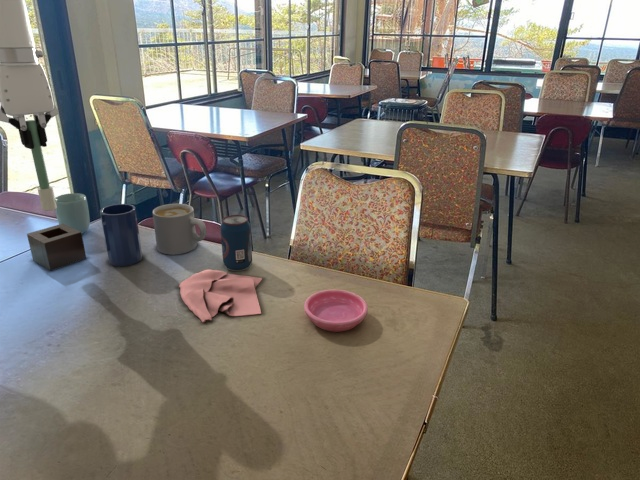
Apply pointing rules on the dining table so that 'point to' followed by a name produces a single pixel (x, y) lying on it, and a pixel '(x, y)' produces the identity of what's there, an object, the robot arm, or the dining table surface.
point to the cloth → (220, 294)
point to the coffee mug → (176, 228)
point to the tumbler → (121, 234)
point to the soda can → (236, 242)
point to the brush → (41, 170)
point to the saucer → (335, 310)
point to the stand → (56, 246)
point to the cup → (73, 211)
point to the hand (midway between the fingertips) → (35, 146)
